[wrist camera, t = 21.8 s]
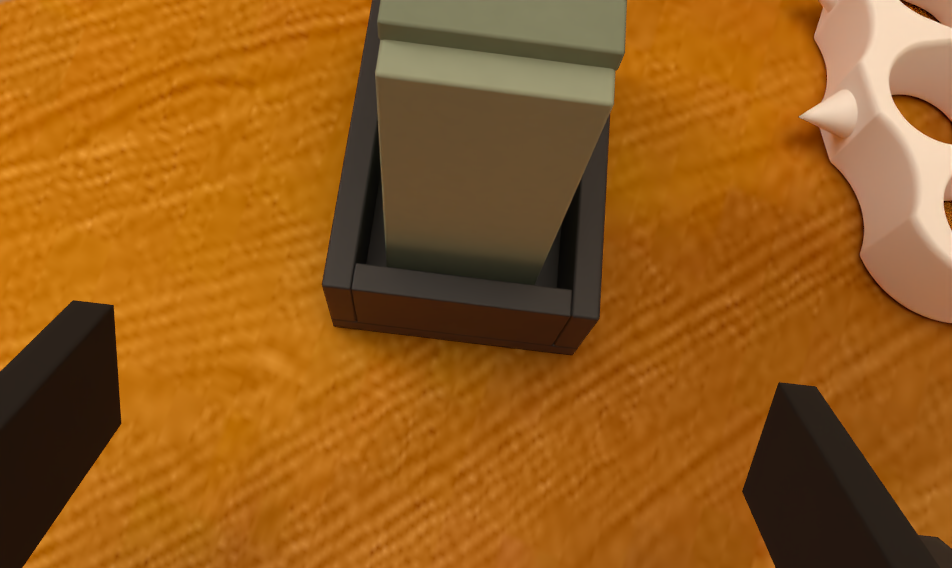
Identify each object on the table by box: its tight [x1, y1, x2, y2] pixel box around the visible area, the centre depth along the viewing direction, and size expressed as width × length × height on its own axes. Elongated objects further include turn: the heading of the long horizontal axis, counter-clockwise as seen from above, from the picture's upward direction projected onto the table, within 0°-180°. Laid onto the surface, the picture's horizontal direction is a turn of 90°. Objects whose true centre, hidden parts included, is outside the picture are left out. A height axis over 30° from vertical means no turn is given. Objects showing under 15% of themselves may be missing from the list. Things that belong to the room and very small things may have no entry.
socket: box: [322, 0, 610, 355], centre depth 26 cm, size 8×11×4 cm
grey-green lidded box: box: [375, 0, 627, 285], centre depth 22 cm, size 5×8×12 cm, turn 175°
